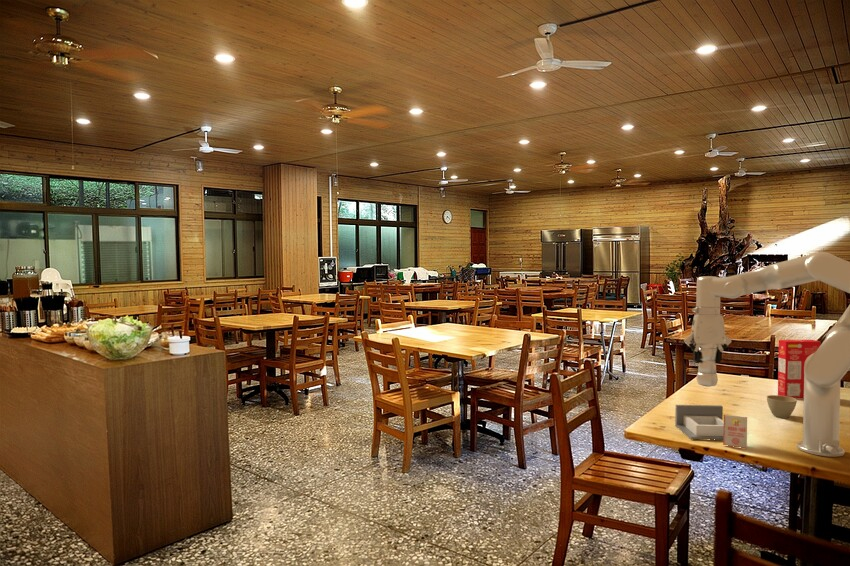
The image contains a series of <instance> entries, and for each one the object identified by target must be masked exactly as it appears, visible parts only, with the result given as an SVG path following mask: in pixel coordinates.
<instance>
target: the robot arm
mask: <svg viewBox="0 0 850 566" xmlns="http://www.w3.org/2000/svg"><path fill="white" fill-rule="evenodd" d="M816 281H819V282H822V283H824V284H826V285H829V286H831V287H833V288H836V289H838V290H840V291H843V292H845V293H848V294H850V261H848V260H845V259H843V258H841V257H839V256H836V255H835V254H832V253H830V252H826V251H823V252H821V251H820V252H816V253H812V254H808V255H805V256H800V257H795V258H793V259H789V260H788V259H787V260H784V261H780V262H775V263H773V264H770V265H767V266H766V267H765V266H764V267H763V268H762V267H761V268H759V269H755V270H751V271H747V272H743V273H739V274H735V275H729V276H725V277H723V276H722V277H719V276H709V275H707V276H706V275H705V276H698V277H697V279H696V301H695V303H696V304H695V307H693V308H691V312H693V313H695V314H694V316H693V319H692V324H691V333H690V334H688V335H687V337H686V338H684V339H683V342H684V343H685V344H686V345H687V346H688V347H689V348H690V349H691V351H692V352H693V353H692V354H693V355H692V360H693V361H694V362H695V363H697V364H699V363H700V352H698V350H699V348H700V345H701V344H715V345H718V348H717V355H716V364H721V361H723V359H722V357H723V355H722V353H723V352H724V350H725V349H726V348H727V347H728V346H729V345H730V344H732V339H730V337H729V336H728V335H726V328H725V321H724V320H725V319H724V316H723V315H721V298H727V299H737V298H740V297H741V296H745V295H751V294H755V293H758V292H765V291H768V290H782V289H787V288H791V287H796V286H799V285H804V284H808V283H812V282H816ZM692 342H693V343H692ZM849 370H850V304H849V305H848V307H847V308H846V309H845V311H844V312H843V314H842V315H841V316H840V317H839V319H838V320H837V322H835V324H834V325H833V326H832V327H831V328H830V329H829V330H828V331H827V333H826V334H825V339H824V340H823V342H822V343H820V347H819V348H818V349H817V351H816V352H815V353H813V354H811V355H810V356H809V357H808V358H807V359H806V361H805V364H804V399H803V410H802V413H803V414H802V416H803V418H802V421H803V422H802V440H800V441H798V442H797V443H796V448H797V449H799V450H800V451H803V452H804V453H807V454H811V455H816V456H822V457H831V458H832V457H836V458H837V457H842V456H844V455H845V453H846V450H845V449H844V448H843V447H841V446H840V441H839V440H840V408H841V380H842V379H843V377H844V376H845V375H846V374H847V372H849Z"/></svg>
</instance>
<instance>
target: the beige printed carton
mask: <svg viewBox="0 0 850 566" xmlns="http://www.w3.org/2000/svg"><path fill="white" fill-rule="evenodd" d="M723 421H724V430H723V441H722V442H723V443H722V446H723V445H728V446H734V447H741V448H740V449H742V448H747V449H748V417H747V416H741V415H739V416H738V415H731V414H724V415H723ZM734 447H733V448H734Z"/></svg>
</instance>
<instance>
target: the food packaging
mask: <svg viewBox="0 0 850 566" xmlns="http://www.w3.org/2000/svg"><path fill="white" fill-rule="evenodd" d="M820 345H821V341H820V340H817V339H816V340H815V339H778V356H777V357H778V364H777V366H778V368H777V369H778V371H777V395H780V396H787V397H792V398H804V364H805V361H806V359H807V358H808V357H809V356H810V355H811V354H813V353H815V352H816V351H817V349H818V348H819V347H820Z"/></svg>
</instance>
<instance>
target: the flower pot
mask: <svg viewBox="0 0 850 566" xmlns="http://www.w3.org/2000/svg"><path fill="white" fill-rule="evenodd" d="M766 401H767V405H768V408H769V410H770V412H771V414H772V416H773V417H775V416H776V417H775V418H780V419H788V418H789V417H790V416H792V414H793V412H794V410H795V408H796V406H797V402H798V399H795V398H792V397H787V396H780V395H778V394H771V395H767V396H766Z"/></svg>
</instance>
